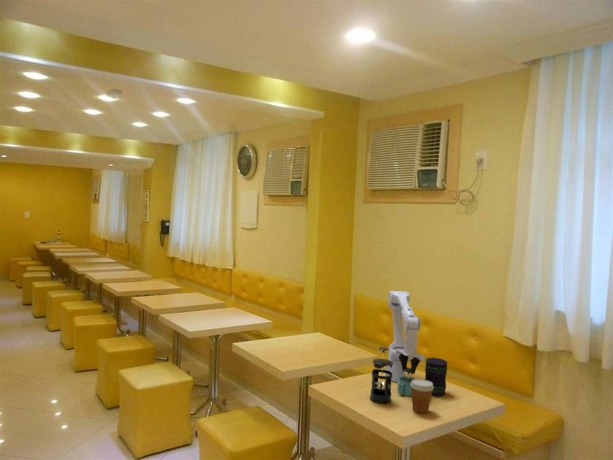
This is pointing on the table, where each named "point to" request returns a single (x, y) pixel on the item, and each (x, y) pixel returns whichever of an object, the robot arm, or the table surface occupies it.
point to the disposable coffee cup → (421, 395)
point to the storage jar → (436, 375)
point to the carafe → (405, 386)
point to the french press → (381, 389)
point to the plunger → (407, 369)
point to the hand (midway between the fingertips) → (408, 372)
